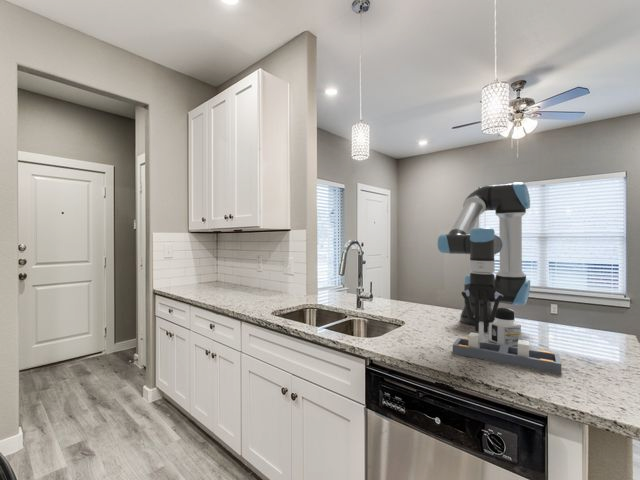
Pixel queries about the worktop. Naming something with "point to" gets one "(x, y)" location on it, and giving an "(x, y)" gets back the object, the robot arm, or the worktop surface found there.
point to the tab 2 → (523, 348)
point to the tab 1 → (473, 340)
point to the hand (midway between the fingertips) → (481, 341)
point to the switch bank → (509, 355)
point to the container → (505, 328)
